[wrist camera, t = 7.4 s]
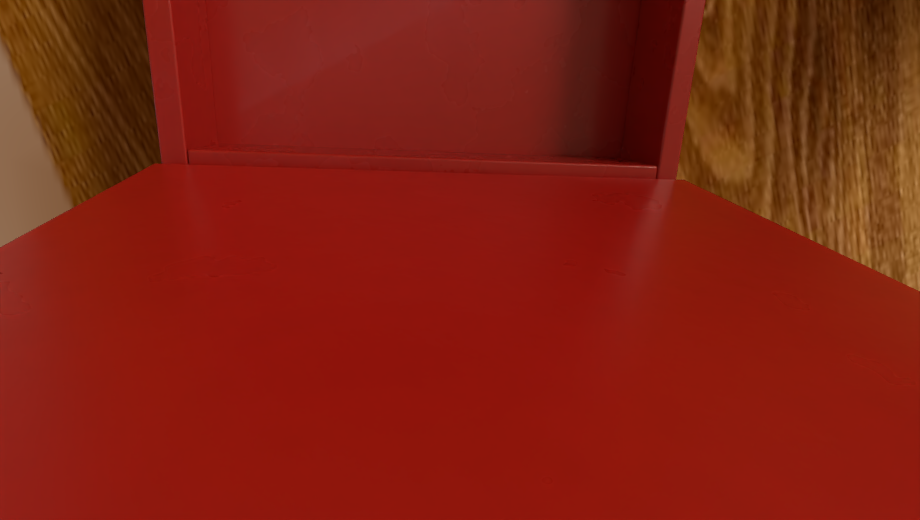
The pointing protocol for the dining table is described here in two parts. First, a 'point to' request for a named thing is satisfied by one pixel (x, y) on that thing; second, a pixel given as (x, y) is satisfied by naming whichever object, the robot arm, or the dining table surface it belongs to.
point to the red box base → (425, 84)
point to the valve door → (446, 355)
